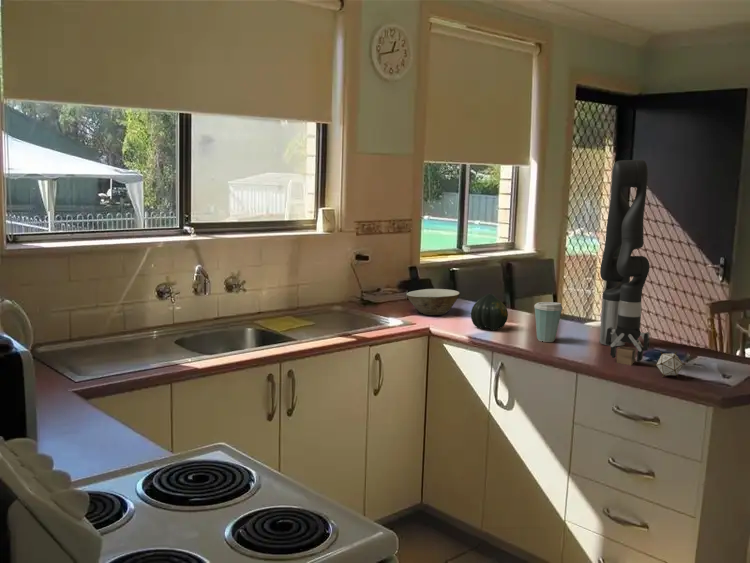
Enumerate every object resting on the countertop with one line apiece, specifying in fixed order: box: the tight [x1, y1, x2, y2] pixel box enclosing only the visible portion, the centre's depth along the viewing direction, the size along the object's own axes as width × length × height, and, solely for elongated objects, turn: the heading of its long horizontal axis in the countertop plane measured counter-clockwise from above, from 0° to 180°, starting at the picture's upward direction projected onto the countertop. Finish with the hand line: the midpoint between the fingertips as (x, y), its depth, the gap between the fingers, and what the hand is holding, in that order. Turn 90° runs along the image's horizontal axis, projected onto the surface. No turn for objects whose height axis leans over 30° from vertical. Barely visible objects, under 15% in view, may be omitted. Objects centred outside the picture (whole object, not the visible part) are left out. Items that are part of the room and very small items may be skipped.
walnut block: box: [616, 345, 637, 366], centre depth 256 cm, size 5×5×5 cm
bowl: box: [405, 288, 461, 316], centre depth 331 cm, size 24×24×10 cm
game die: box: [653, 351, 686, 378], centre depth 241 cm, size 9×8×10 cm
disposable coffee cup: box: [533, 301, 564, 343], centre depth 285 cm, size 11×11×15 cm
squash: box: [470, 292, 509, 331], centre depth 304 cm, size 14×15×15 cm
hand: (626, 359), depth 256 cm, fingers open, 8 cm apart
